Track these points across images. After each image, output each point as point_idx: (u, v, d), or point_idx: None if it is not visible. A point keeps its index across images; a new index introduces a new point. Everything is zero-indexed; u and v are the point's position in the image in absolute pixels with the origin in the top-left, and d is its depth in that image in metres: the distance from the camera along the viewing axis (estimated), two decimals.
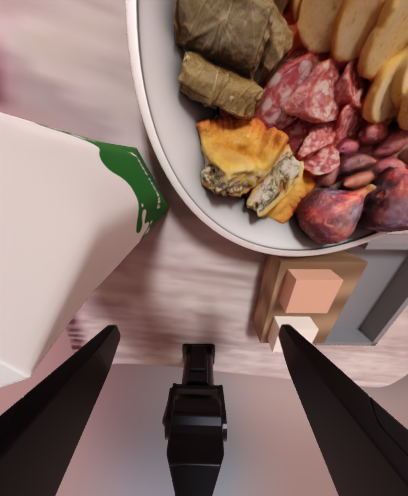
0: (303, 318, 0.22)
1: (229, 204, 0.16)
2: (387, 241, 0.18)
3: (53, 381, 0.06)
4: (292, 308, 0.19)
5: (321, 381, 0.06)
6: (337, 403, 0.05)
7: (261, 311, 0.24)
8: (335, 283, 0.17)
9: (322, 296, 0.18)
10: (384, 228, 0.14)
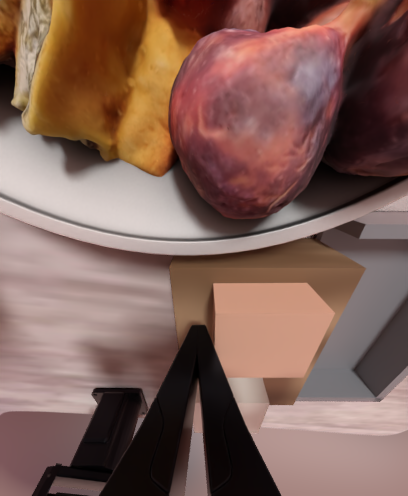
0: None
1: None
2: (407, 221, 0.08)
3: (176, 381, 0.06)
4: (225, 370, 0.08)
5: None
6: (202, 403, 0.05)
7: None
8: (315, 321, 0.07)
9: (288, 348, 0.08)
10: None
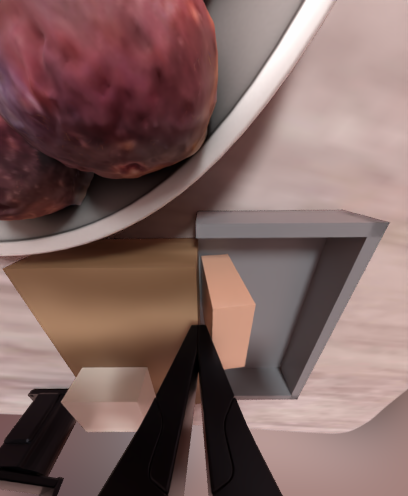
0: (132, 371, 0.12)
1: None
2: (245, 220, 0.09)
3: (175, 381, 0.06)
4: None
5: None
6: (202, 403, 0.05)
7: None
8: None
9: None
10: (48, 148, 0.04)
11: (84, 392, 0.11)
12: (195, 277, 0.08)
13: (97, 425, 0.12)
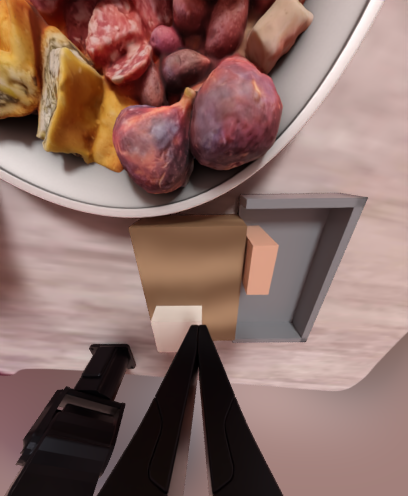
0: (192, 308, 0.17)
1: (26, 141, 0.11)
2: (277, 197, 0.13)
3: (175, 381, 0.06)
4: None
5: None
6: (203, 403, 0.05)
7: None
8: None
9: None
10: (209, 156, 0.09)
11: (164, 317, 0.16)
12: (245, 233, 0.13)
13: (167, 345, 0.17)
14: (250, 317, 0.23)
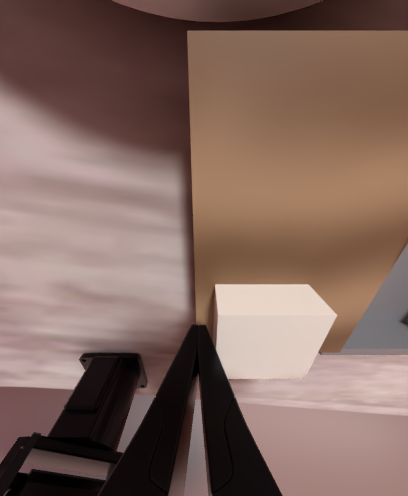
0: (291, 288, 0.08)
1: None
2: None
3: (175, 381, 0.06)
4: None
5: None
6: (202, 403, 0.05)
7: None
8: None
9: None
10: None
11: (243, 306, 0.07)
12: None
13: (239, 365, 0.08)
14: None
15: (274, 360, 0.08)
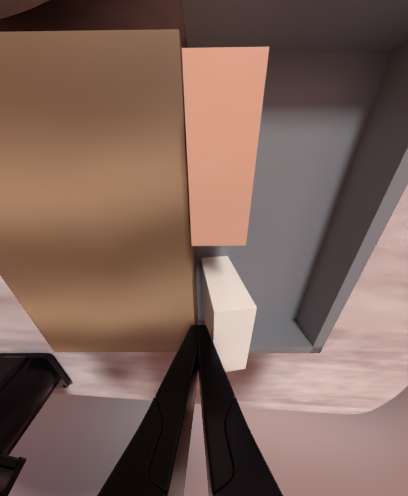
0: (207, 265, 0.10)
1: None
2: None
3: (175, 381, 0.06)
4: None
5: None
6: (203, 403, 0.05)
7: None
8: None
9: None
10: None
11: (237, 290, 0.08)
12: (179, 64, 0.05)
13: None
14: None
15: None
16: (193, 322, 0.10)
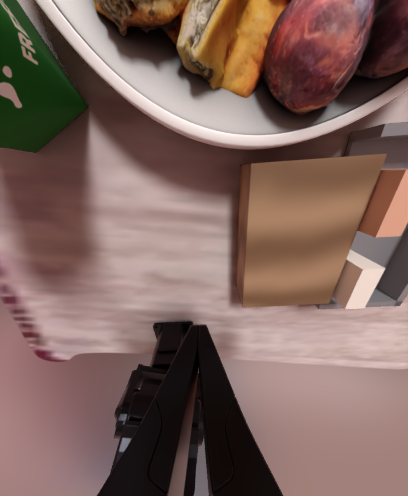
0: None
1: (154, 61, 0.10)
2: None
3: (175, 381, 0.06)
4: None
5: None
6: (203, 403, 0.05)
7: (240, 264, 0.18)
8: None
9: None
10: None
11: (367, 261, 0.15)
12: (381, 164, 0.12)
13: None
14: None
15: None
16: (336, 283, 0.17)
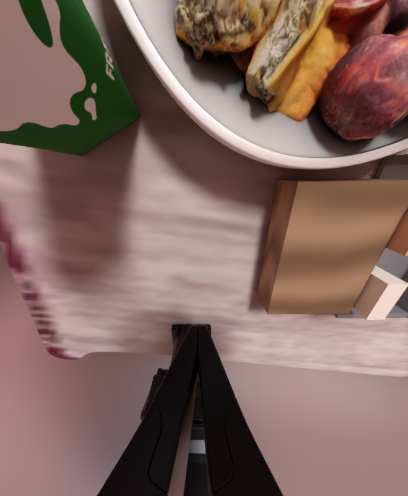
0: None
1: (221, 83, 0.11)
2: None
3: (175, 381, 0.06)
4: None
5: None
6: (203, 403, 0.05)
7: (268, 272, 0.19)
8: None
9: None
10: None
11: (390, 276, 0.16)
12: None
13: None
14: None
15: None
16: (358, 295, 0.18)
